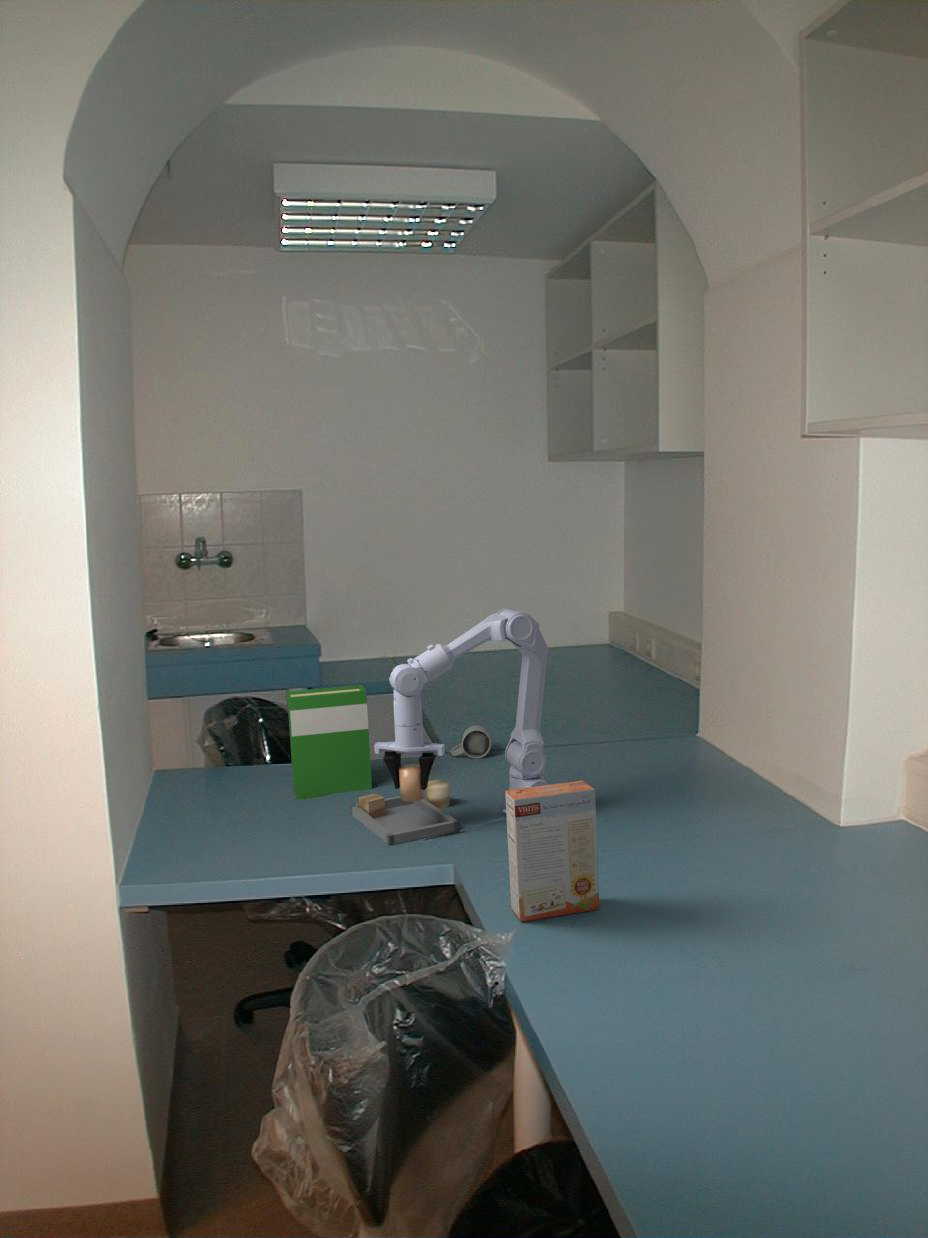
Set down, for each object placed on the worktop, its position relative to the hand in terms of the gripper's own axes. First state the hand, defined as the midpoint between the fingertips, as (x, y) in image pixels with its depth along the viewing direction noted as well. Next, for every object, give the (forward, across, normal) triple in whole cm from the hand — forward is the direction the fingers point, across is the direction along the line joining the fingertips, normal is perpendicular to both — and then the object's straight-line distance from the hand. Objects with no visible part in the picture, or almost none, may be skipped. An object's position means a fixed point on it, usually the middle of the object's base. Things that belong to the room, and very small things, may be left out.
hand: (411, 788), depth 209 cm
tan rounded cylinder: (+2, 0, 0) cm, 2 cm away
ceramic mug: (+9, +1, -57) cm, 57 cm away
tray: (+9, +3, -3) cm, 10 cm away
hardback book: (+9, +27, -24) cm, 37 cm away
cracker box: (+9, -35, +34) cm, 49 cm away
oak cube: (+9, +11, -6) cm, 15 cm away
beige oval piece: (+9, -1, -15) cm, 18 cm away
